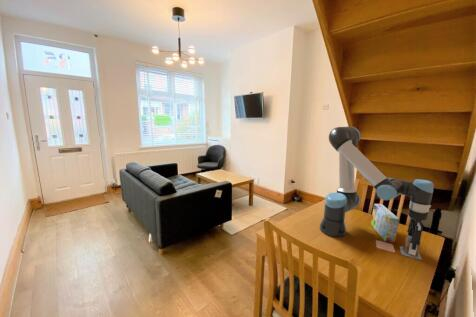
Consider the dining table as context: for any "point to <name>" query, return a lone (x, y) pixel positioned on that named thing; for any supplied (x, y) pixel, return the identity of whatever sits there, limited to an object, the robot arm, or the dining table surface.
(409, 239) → the block
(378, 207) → the snack box
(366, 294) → the dining table surface
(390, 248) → the terracotta tile
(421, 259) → the slate tile
